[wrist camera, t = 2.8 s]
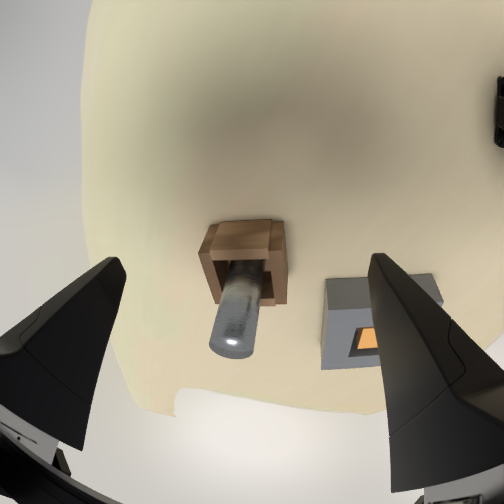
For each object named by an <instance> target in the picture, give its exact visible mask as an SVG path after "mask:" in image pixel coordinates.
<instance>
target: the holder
mask: <svg viewBox="0 0 504 504" xmlns="http://www.w3.org/2000/svg"><path fill="white" fill-rule="evenodd" d="M198 255H199V258H200V261H201V264H202V267H203V270H204V273H205V276H206V279H207V282H208V284H209V287H210V290H211V293H212V296H213V299H214V301H215V304H220V300H221V296H222V292H223V289H224V285H225V281H226V278H227V274H228V270H229V267H230V263H231V260H248V259H266V263H265V271H264V278H263V286H262V293H261V301H260V306H275V305H276V304H287V284H288V267H287V255H286V243H285V232H284V221H275V222H272V219H265V220H246V221H230V222H220V224H219V225H210V227H209V229H208V231H207V234H206V236H205V238H204V241H203V243H202V245H201V248H200V250H199V252H198Z"/></svg>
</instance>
